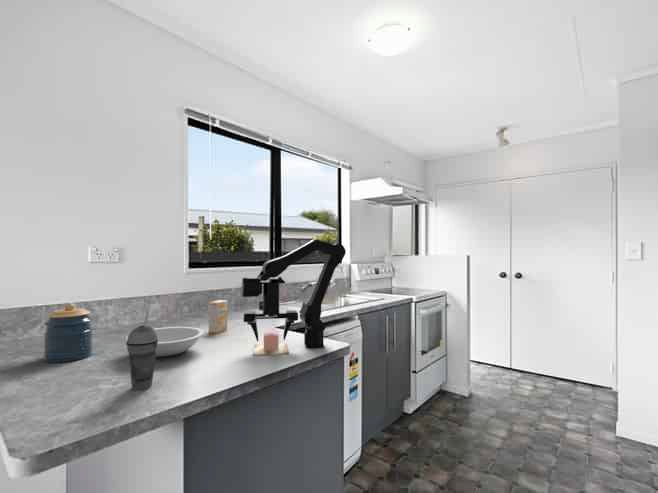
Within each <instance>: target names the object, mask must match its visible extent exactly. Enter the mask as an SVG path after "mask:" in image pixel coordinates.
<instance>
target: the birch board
mask: <svg viewBox="0 0 658 493" xmlns="http://www.w3.org/2000/svg"><path fill="white" fill-rule="evenodd" d="M252 350H253V351H252V356H253V357H254V356H255V357H256V356H273V355H274V356H276V355H280V356H281V355H289V354H290V350H289V348H288V342H285V343H279V342H278V350H264V343H262V344H260V343H257V344H253V349H252Z"/></svg>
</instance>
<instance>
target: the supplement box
mask: <svg viewBox="0 0 658 493" xmlns="http://www.w3.org/2000/svg"><path fill="white" fill-rule="evenodd" d="M228 306H229V303H228V300H226V299H218V300H213V301H210V302H208V333H210V334H220V333H222V332H224V331H226V330H228Z"/></svg>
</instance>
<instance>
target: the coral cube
mask: <svg viewBox="0 0 658 493" xmlns="http://www.w3.org/2000/svg"><path fill="white" fill-rule="evenodd" d="M263 344H264V350H278V344H279V332H278V331H276V332H275V331H274V332H263Z"/></svg>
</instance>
